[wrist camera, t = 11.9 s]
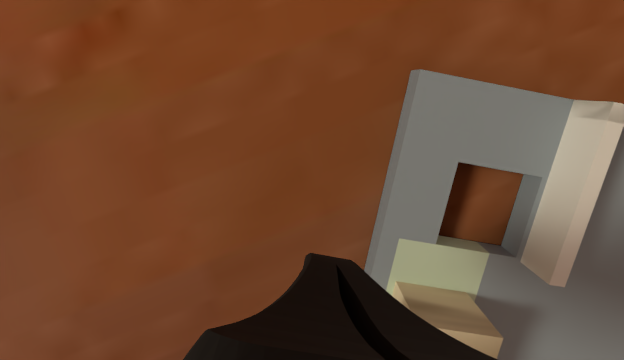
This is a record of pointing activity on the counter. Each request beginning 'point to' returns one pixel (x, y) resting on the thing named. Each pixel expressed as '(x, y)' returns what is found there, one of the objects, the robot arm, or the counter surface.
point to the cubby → (572, 188)
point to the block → (451, 315)
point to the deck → (506, 258)
